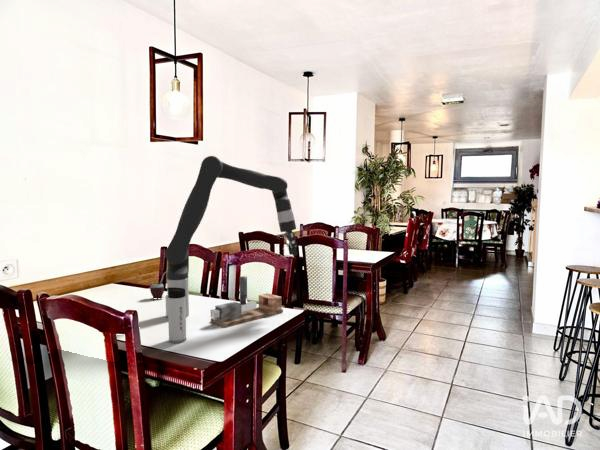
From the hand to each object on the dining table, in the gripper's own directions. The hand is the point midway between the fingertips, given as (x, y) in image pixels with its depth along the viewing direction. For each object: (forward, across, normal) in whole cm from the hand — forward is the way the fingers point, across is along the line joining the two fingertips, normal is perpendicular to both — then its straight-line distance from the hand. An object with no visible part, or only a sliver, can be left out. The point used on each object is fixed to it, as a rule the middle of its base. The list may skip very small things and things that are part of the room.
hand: (293, 254), depth 187 cm
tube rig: (+23, +1, -26) cm, 35 cm away
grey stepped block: (+18, +6, -32) cm, 37 cm away
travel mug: (+19, +27, -54) cm, 64 cm away
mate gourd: (+11, -43, -70) cm, 83 cm away
